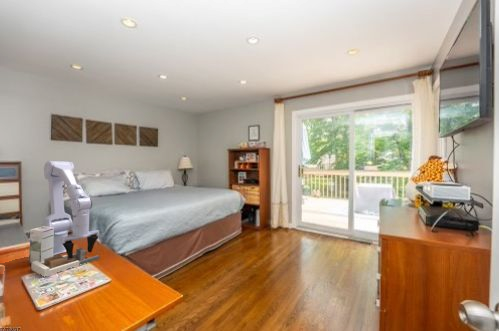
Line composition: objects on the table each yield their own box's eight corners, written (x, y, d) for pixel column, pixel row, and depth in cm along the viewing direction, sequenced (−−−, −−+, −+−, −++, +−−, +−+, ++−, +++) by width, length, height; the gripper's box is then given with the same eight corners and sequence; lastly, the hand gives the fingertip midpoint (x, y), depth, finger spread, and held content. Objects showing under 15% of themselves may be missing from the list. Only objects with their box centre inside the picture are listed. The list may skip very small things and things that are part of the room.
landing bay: (65, 259, 100) (65, 256, 100) (85, 253, 107) (85, 250, 107) (79, 265, 94) (79, 262, 94) (99, 259, 101) (99, 255, 101)
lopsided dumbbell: (44, 268, 91) (44, 256, 91) (78, 258, 102) (79, 247, 102) (50, 272, 88) (51, 259, 88) (85, 261, 99) (85, 249, 99)
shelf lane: (31, 269, 90) (31, 262, 90) (65, 259, 100) (65, 252, 100) (44, 277, 84) (44, 269, 84) (79, 265, 94) (79, 258, 94)
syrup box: (53, 258, 101) (54, 226, 101) (40, 264, 95) (41, 230, 95) (42, 257, 101) (43, 225, 101) (28, 263, 95) (29, 229, 95)
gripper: (66, 229, 91) (65, 262, 91) (103, 222, 104) (102, 251, 104) (58, 227, 95) (57, 258, 95) (95, 220, 108) (94, 248, 108)
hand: (80, 254), depth 100 cm, fingers open, 7 cm apart
